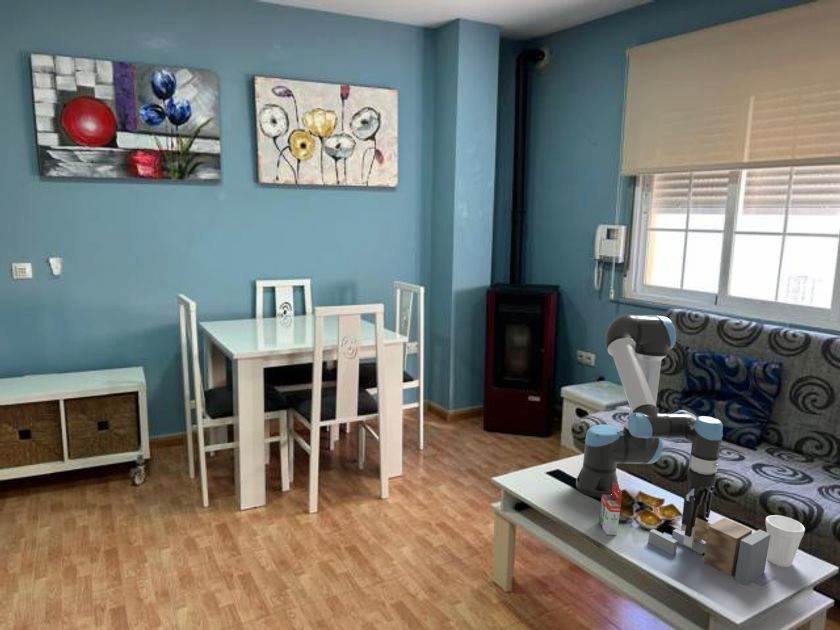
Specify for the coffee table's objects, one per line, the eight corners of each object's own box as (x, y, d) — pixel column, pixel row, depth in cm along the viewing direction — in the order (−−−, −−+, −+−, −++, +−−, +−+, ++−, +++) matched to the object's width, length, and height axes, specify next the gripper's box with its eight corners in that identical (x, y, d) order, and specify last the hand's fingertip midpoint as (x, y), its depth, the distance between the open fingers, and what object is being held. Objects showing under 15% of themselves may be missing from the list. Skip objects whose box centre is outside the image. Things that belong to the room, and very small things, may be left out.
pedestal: (647, 545, 185) (649, 530, 185) (651, 544, 187) (653, 528, 186) (671, 558, 179) (674, 542, 178) (675, 556, 180) (677, 541, 180)
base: (660, 545, 186) (665, 506, 184) (679, 535, 193) (684, 497, 190) (746, 590, 166) (753, 546, 163) (765, 577, 172) (772, 534, 170)
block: (703, 561, 176) (708, 525, 174) (719, 552, 182) (724, 517, 180) (731, 575, 170) (736, 538, 168) (746, 565, 175) (752, 529, 173)
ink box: (606, 535, 190) (611, 491, 188) (597, 522, 198) (602, 480, 196) (617, 535, 191) (622, 491, 188) (608, 522, 198) (613, 480, 196)
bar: (680, 529, 184) (682, 517, 183) (688, 526, 186) (689, 514, 186) (726, 551, 173) (728, 538, 172) (733, 547, 175) (735, 535, 175)
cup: (752, 553, 184) (759, 513, 182) (786, 556, 184) (792, 516, 182) (770, 573, 175) (777, 531, 172) (805, 575, 174) (813, 533, 172)
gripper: (699, 480, 171) (688, 557, 175) (729, 468, 182) (719, 540, 185) (674, 471, 177) (664, 545, 181) (705, 459, 187) (695, 530, 191)
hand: (692, 542), depth 183 cm, fingers closed on bar, 4 cm apart
